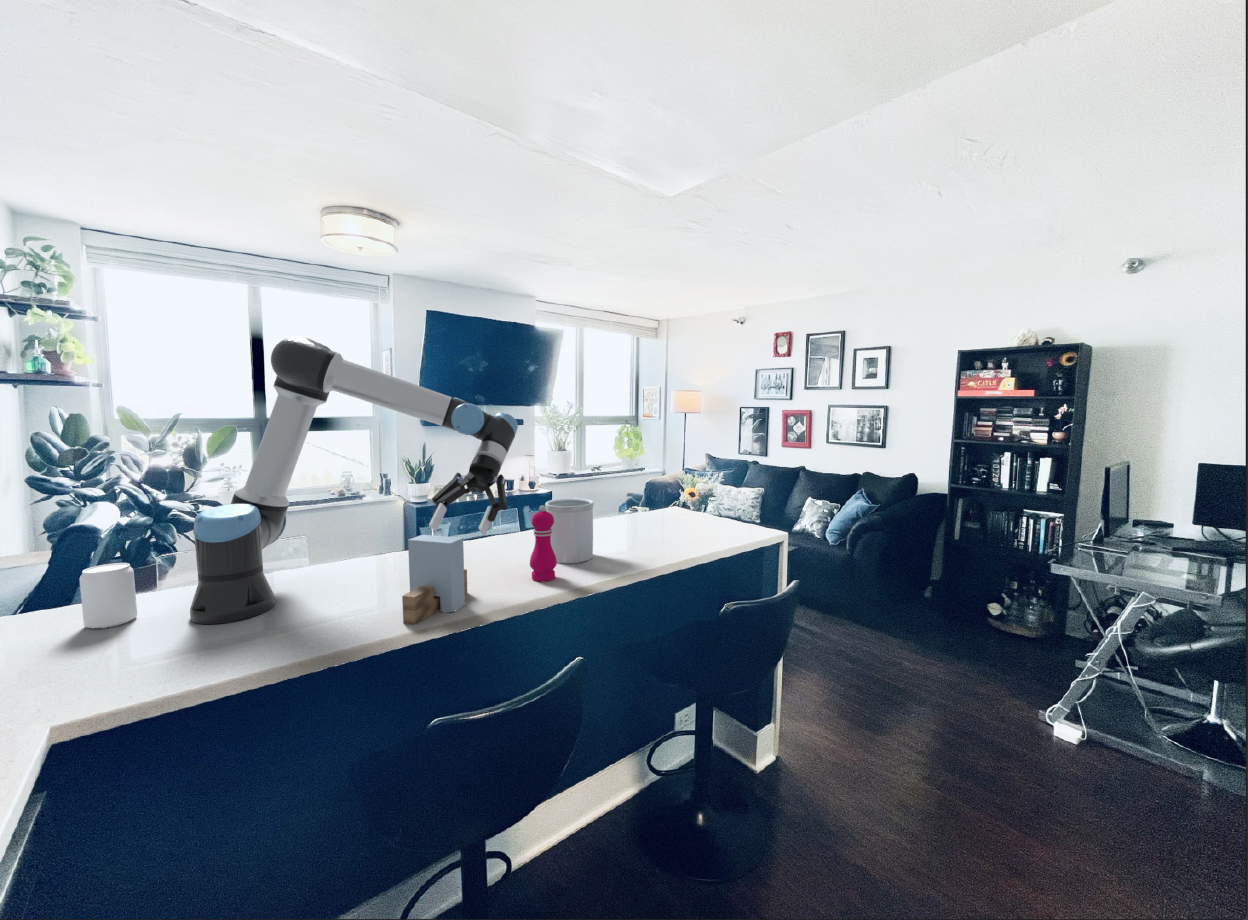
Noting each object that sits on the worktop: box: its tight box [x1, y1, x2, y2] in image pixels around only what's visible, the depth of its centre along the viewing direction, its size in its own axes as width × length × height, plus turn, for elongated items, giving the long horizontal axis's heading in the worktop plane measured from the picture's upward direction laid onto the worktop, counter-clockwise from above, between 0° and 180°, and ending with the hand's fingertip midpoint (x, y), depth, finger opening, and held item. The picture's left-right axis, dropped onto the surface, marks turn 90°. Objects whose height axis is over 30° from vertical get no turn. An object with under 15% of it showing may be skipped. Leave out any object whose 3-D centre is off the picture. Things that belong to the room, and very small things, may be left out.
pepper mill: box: [529, 505, 558, 582], centre depth 140 cm, size 7×7×20 cm
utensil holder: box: [544, 497, 594, 564], centre depth 160 cm, size 15×15×18 cm
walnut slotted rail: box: [401, 568, 468, 625], centre depth 119 cm, size 20×3×6 cm, turn 165°
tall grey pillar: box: [407, 534, 466, 613], centre depth 119 cm, size 11×5×16 cm, turn 74°
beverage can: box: [79, 562, 138, 629], centre depth 110 cm, size 8×8×12 cm
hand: (456, 529), depth 125 cm, fingers open, 13 cm apart
